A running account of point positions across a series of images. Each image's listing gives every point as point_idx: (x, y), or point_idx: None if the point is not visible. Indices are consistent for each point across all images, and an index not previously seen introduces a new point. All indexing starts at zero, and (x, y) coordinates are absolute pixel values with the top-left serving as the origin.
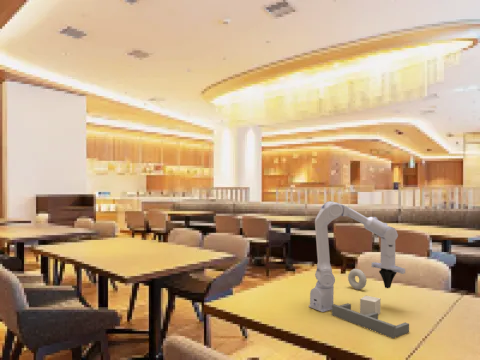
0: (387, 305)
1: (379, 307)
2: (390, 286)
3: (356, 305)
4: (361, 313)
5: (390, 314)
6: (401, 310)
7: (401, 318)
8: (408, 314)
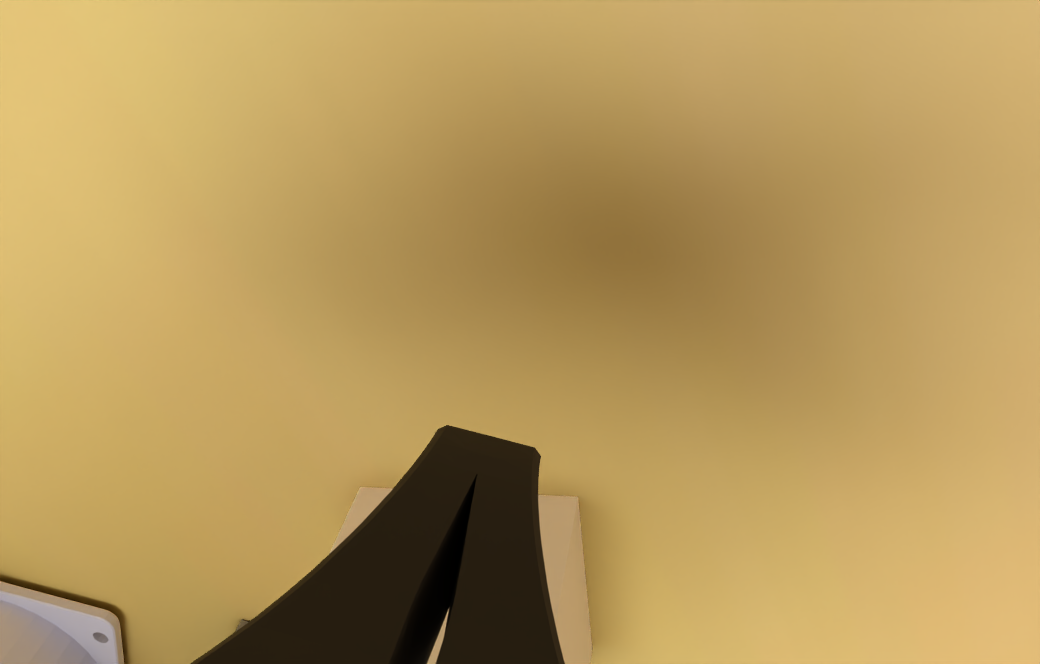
0: (490, 43)
1: (568, 602)
2: (536, 485)
3: (159, 394)
4: None
5: (721, 468)
6: (829, 165)
7: (915, 530)
8: (997, 302)
